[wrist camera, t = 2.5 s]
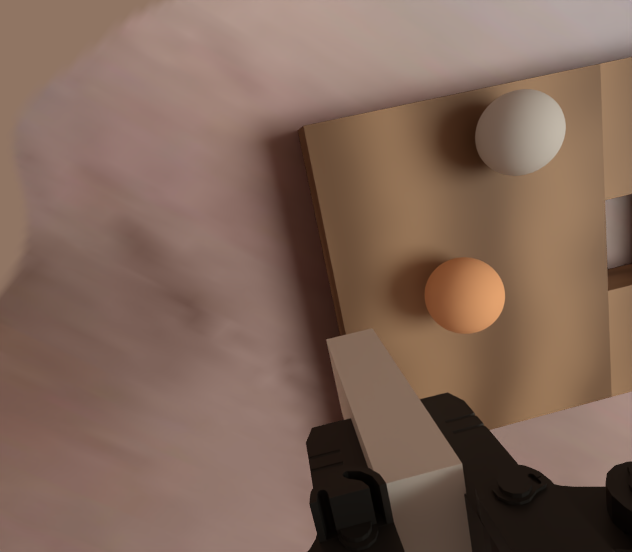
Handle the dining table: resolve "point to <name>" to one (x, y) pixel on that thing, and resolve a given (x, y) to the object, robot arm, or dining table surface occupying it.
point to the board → (484, 243)
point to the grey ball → (520, 132)
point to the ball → (464, 295)
